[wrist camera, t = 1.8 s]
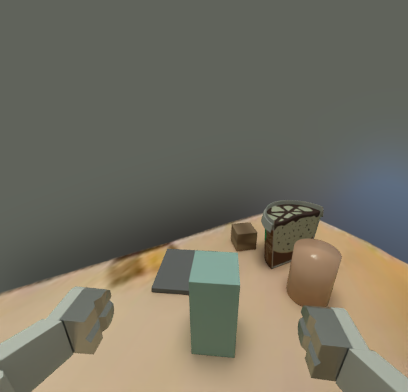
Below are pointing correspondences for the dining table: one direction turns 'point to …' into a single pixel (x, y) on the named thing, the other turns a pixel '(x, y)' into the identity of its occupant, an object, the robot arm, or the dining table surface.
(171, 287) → the mat
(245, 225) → the walnut cube
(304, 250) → the tan rounded cylinder
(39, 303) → the dining table surface
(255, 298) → the dining table surface
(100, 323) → the robot arm
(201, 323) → the tall green rectangular block
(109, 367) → the dining table surface
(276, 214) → the food container
